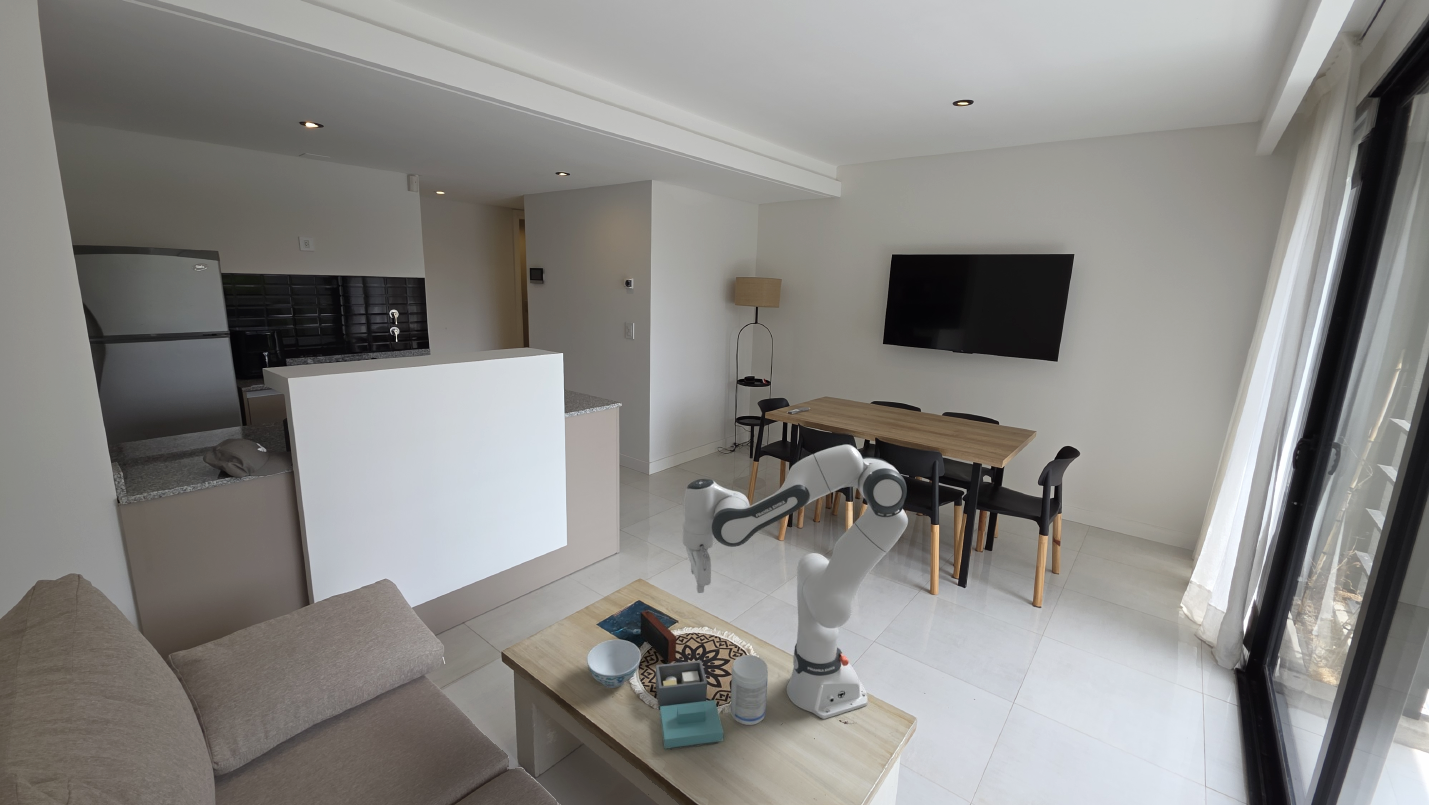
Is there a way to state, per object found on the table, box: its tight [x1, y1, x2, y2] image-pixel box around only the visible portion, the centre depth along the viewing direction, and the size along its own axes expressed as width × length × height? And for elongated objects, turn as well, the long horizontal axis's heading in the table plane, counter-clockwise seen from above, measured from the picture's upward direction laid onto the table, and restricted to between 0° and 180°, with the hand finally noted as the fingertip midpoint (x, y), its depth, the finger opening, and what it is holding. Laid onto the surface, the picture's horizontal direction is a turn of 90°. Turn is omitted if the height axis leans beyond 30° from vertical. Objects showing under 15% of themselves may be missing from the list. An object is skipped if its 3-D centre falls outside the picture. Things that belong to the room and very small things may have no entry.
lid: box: [659, 699, 724, 749], centre depth 147 cm, size 15×11×6 cm
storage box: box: [655, 660, 708, 711], centre depth 158 cm, size 13×9×7 cm
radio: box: [640, 609, 679, 664], centre depth 175 cm, size 19×3×15 cm, turn 37°
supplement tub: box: [729, 654, 769, 726], centre depth 152 cm, size 10×10×15 cm
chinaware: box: [586, 639, 642, 689], centre depth 163 cm, size 15×15×8 cm
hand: (697, 582), depth 158 cm, fingers open, 8 cm apart
